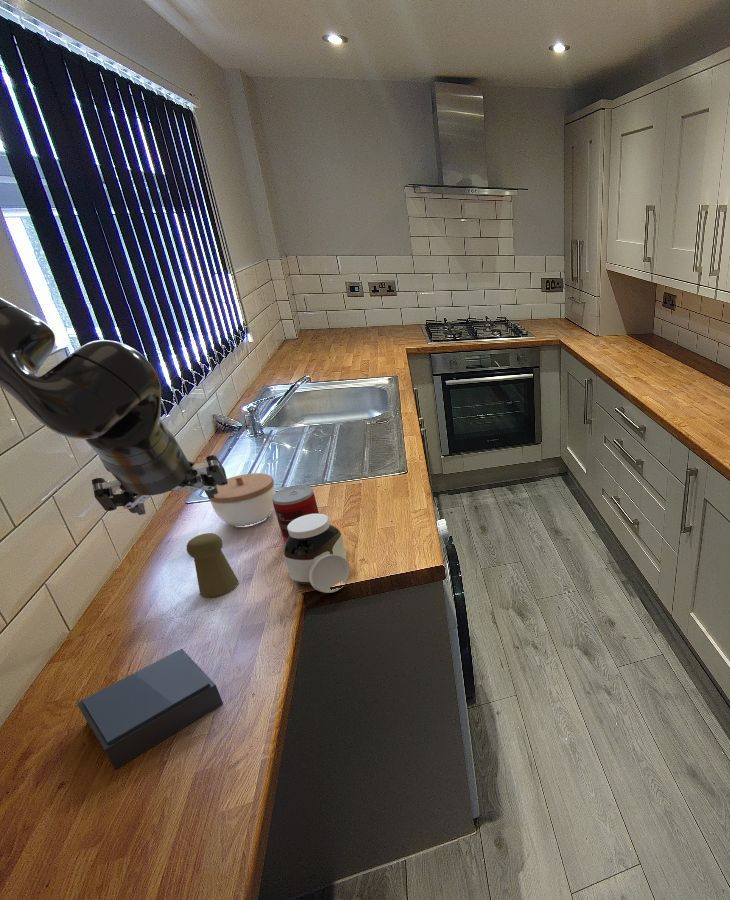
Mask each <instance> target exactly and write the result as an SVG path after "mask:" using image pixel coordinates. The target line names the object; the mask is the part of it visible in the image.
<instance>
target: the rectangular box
mask: <svg viewBox="0 0 730 900" xmlns="http://www.w3.org/2000/svg"><path fill="white" fill-rule="evenodd" d="M76 704H77V707H78V708H79V710H80V712H81V714H82V715H83V718H84V719H85V721H86V723H87V724H88V726H89V728H90V730H91V731H92V733H93V735H94V736H95V738H96V740H97V742H98V743H99V745H100V747H101V748H102V750H103V752H104V753H105V755H106V756H107V758H108V760H109V762H110V763H111V765H112V767H113V768H114V770H115V771H116V770H118V769H119V768H121V767H123V766H124V765H126V764H127V763H129V762H131V761H133V760H134V759H136V758H137V757H139V756H141V755H143V753H145V752H147V751H149V750H151V749H152V748H153V747H155V746H157V745H158V744H160V743H162V742H164V741H165V740H166V739H168V738H170V737H171V736H173V735H175V734H177V733H178V732H180V731H181V730H183V729H184V728H186V727H188V726H189V725H191V724H193V723H194V722H196V721H197V720H199V719H201V718H202V717H204V716H206V715H207V714H209V713H211V712H212V711H214V710H215V709H217V708H218V707H220V706H222V705H223V704H224V702H223V700H222V697H221V694H220V692H219V689H218V687H217V684H216V683H215V682H214V681H213V680H212V679H211V678H210V676H208V674H207V673H206V672H204V671H203V669H202V668H201V667H200V666H199V665H198V664H197V663H196V662H195V660H193V659H192V657H191V656H189V654H188V653H187V652H186V651H185V650H184V649H183V648H180V649H178V650H176V651H174V652H172V653H170V654H168V655H166V656H164V657H163V658H160V659H159V660H156V661H155V662H153V663H151V664H149V665H147V666H144V667H143V668H141V669H139V670H137V671H135V672H133V673H131V674H129V675H127V676H125V677H124V678H122V679H119V680H117V681H116V682H114V683H112V684H110V685H108V686H106V687H104V688H102V689H100V690H99V691H96V692H95V693H93V694H91V695H88V696H87V697H85V698H83V699H81V700H80V701H78V702H77V703H76Z"/></svg>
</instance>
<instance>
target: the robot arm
mask: <svg viewBox="0 0 730 900" xmlns="http://www.w3.org/2000/svg"><path fill="white" fill-rule="evenodd" d="M55 343H56V334H55V333H54V330H53V329H52V328H51V327H50V326H49V325H48V324H47V323H46V322H45V321H43V320H42V319H40V318H39V317H37V316H35V315H33V314H31V313H30V312H27V311H26V310H24V309H22V308H20V307H18V306H17V305H14V304H13V303H11V302H9V301H7V300H5V299H4V298H2V297H0V387H1V388H2V389H3V390H4V391H5V392H7V393H8V394H10V395H11V396H12V398H14V399H15V400H16V401H18V403H20V404H21V405H22V406H23V407H24V408H25V409H26V410H27V411H28V412H29V413H30V414H31V415H32V416H33V417H34V418H35V419H36V420H37V421H39V422H40V423H41V424H43V426H45V427H46V428H47V429H49V430H51V431H52V432H54V433H55V434H58V435H60V436H63V437H65V438H69V439H76V440H84V441H85V442H86V444H88V445H89V447H90V448H91V449H92V450H93V451H94V452H95V453H96V454H97V455H98V458H99V460H100V461H101V463H102V464H103V467H104V468H105V470H106V471H107V472H109V473H110V474H111V475H112V476H113V477H114V478H115V479H116V480H105V478H103V477H95V478H93V479H91V484H92V485H91V486H92V491H93V495H94V496H93V497H94V498H95V500H96V501H97V502H98V503H99V504H100V506H101V507H102V508H103V509H104V511H106V512H111V511H116V510H117V509H118V508H119V507H122V508H123V509H125V510H126V509H127V510H128V511H129V512H130V513H131V514H137V515H138V516H143V515H146V507H145V502H146V501H147V500H149V498H150V497H153V496H158V495H162V494H166V493H168V492H173V491H179V490H180V491H187V492H197V491H198V490H201V491H204V493H205V494H206V496H207V498H208V500H210V499H211V498H214V495H215V494H218V490H217V486H216V485H220V486H223V485H226V484H228V481H227V479H228V477H227V473H226V470H225V467H224V466H223V465H222V463H221V462H220V460H219V458H218V457H217V455H214V454H213V455H208V456H206V457H205V461H203V462H199V463H195V462H192V461H190V460H188V458H187V456H186V455H185V453H184V452H183V450H182V448H181V446H180V444H179V443H178V441H177V439H176V437H174V435H173V433H171V431H170V430H169V429H168V428H166V426H165V424H164V422H163V421H162V418H161V415H162V387H161V382H160V378H159V376H158V373H157V371H156V370H155V368H154V366H153V365H152V364H151V363H150V361H149V360H148V359H147V358H146V357H145V356H144V354H142V353H140V352H139V351H138V350H136V349H135V348H133V347H131V346H129V345H127V344H125V343H122V342H119V341H115V340H107V339H101V340H93V341H90V342H87V343H86V344H85V343H84V345H81V346H80V347H78V348H77V349H76V350H75V351H73V352H72V353H70V354H69V355H68V356H67V357H65V358H64V359H63V360H61V361H60V362H58V363H57V364H56V365H55V366H54V367H53V366H52V368H51V369H49V370H48V371H47V372H46V373H44V374H42V375H37V374H38V372H39V371H40V369H41V367H42V366H43V365H44V364H45V362H46V361H47V359H49V357H50V355H51V353H52V352H53V350H54V347H55V345H56V344H55ZM118 490H121V491H120V493H117V491H118Z"/></svg>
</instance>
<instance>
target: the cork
mask: <svg viewBox="0 0 730 900" xmlns="http://www.w3.org/2000/svg"><path fill="white" fill-rule="evenodd" d="M222 547H223V540H222V538H221V536H220V535H218V534H217V533H213V532H211V533H210V532H206V533H202V534H198V535H196V536H194V537H192V538H191V539H190V540H189V541H188V542H187V544H186V552H187V554H188V556H190V557H191V558H193V560H194V568H195V572H196V578H197V584H198V591H199V595H200V596H201V597H202V598H204V599H212V598H218V597H222V596H225V595H227V594H228V593H230V592H232V591H233V590H235V589H236V587H237V586H238V585H237V583H238V582H239V578H237V575H236V574H235V572H234V570H233V568H232V567H231V565H230V563H229V561H228V559H227V557H226V555H225V553H224V552H223V550H222ZM238 584H239V583H238ZM236 585H237V586H236ZM235 586H236V587H235ZM231 590H232V591H231Z"/></svg>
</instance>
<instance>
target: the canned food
mask: <svg viewBox="0 0 730 900" xmlns="http://www.w3.org/2000/svg"><path fill="white" fill-rule="evenodd" d="M272 502H273V506H274V512H275V515H276V519H277V523H278V525H279V530H280V533H281V536H282V539H283V542H284V544H286V541H287V539H288V537H289V536H290V535H289V532H288V529H287V526H288V524H289V523H290V522H291V521H293V520H294V519H296V518H299V517H301V516H304V515H308V514H320V512H319V508H318V504H317V500H316V496H315V492H314V490H313V487H312V486H310V485H306V484H299V485H298V484H297V485H292V486H288V487H284V488H282V489H280V490H278V491H276V493H275V494H274V495H273V496H272Z"/></svg>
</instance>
